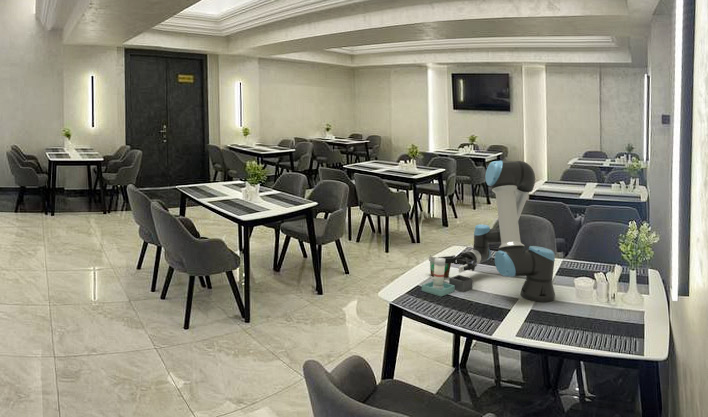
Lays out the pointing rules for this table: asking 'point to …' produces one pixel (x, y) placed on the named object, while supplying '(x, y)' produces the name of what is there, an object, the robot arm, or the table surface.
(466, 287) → the socket block
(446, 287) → the parts tray
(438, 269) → the fuse
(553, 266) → the robot arm
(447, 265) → the food container
